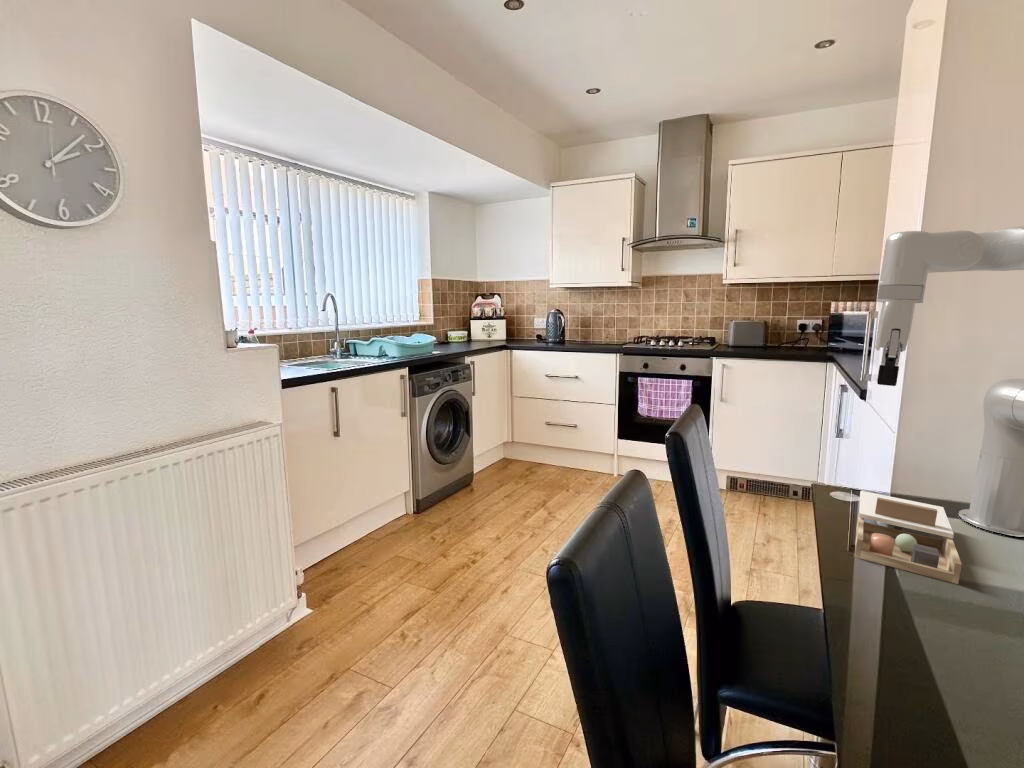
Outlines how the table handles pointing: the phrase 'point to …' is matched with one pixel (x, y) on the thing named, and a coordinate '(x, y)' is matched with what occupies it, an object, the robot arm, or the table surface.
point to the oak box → (902, 560)
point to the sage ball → (905, 542)
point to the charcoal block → (925, 555)
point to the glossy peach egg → (882, 544)
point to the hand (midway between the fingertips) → (886, 384)
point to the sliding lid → (905, 513)
